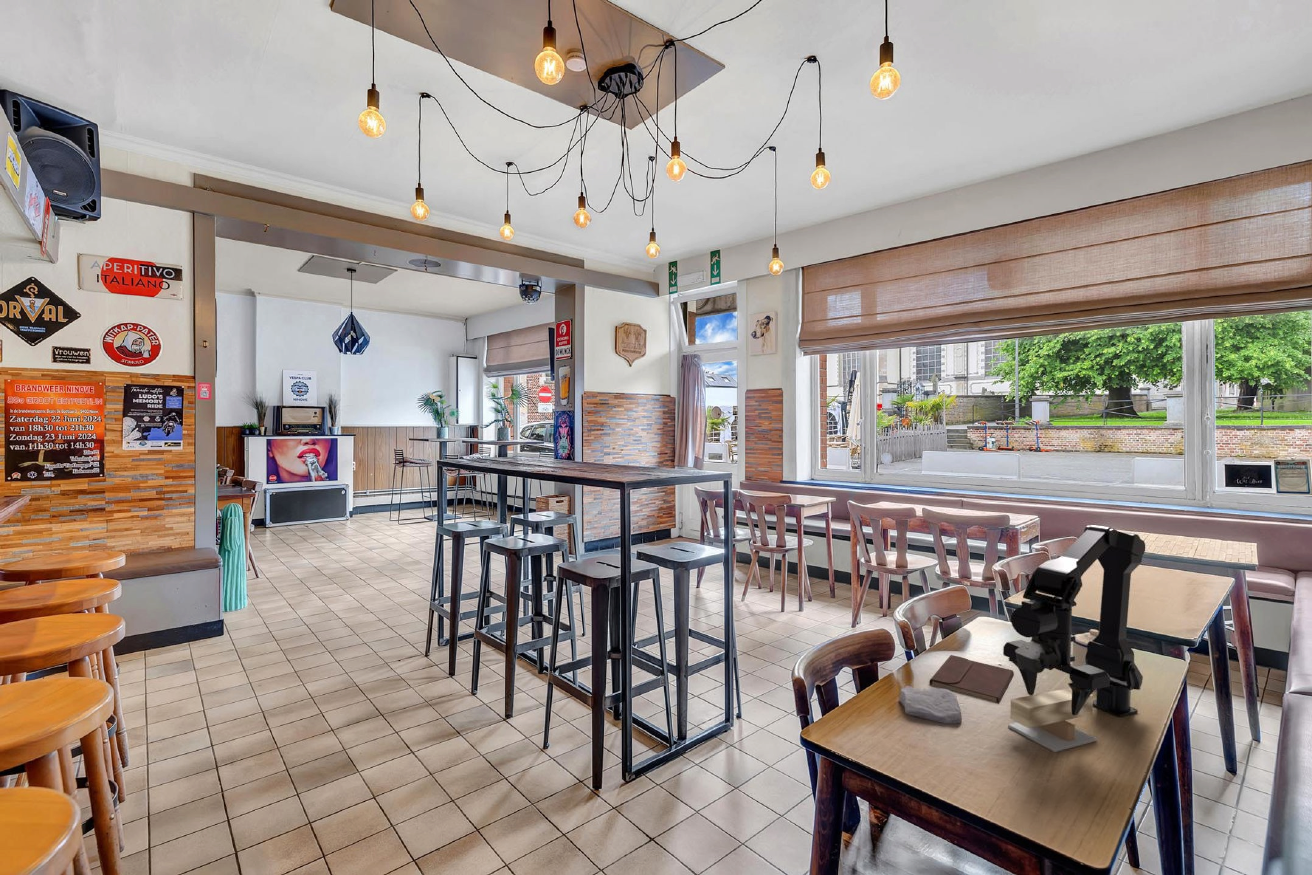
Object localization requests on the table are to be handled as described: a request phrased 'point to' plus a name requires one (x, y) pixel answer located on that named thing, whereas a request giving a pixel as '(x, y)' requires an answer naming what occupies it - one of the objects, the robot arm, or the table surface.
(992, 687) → the notebook
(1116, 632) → the robot arm
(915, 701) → the stone block
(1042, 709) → the beech bar
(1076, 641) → the teacup with lid
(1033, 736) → the fulcrum stand
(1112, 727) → the table surface
